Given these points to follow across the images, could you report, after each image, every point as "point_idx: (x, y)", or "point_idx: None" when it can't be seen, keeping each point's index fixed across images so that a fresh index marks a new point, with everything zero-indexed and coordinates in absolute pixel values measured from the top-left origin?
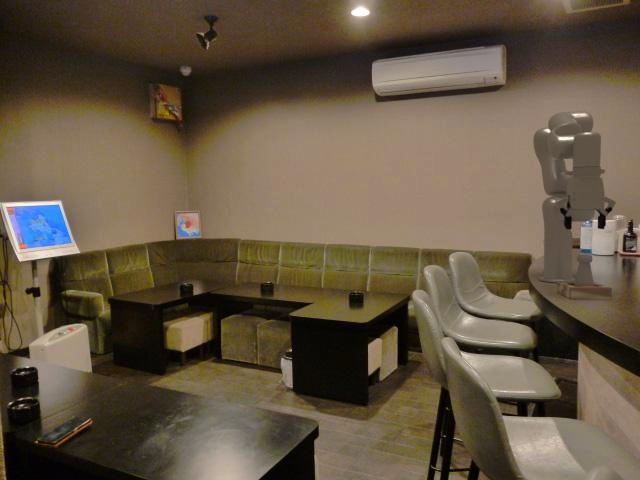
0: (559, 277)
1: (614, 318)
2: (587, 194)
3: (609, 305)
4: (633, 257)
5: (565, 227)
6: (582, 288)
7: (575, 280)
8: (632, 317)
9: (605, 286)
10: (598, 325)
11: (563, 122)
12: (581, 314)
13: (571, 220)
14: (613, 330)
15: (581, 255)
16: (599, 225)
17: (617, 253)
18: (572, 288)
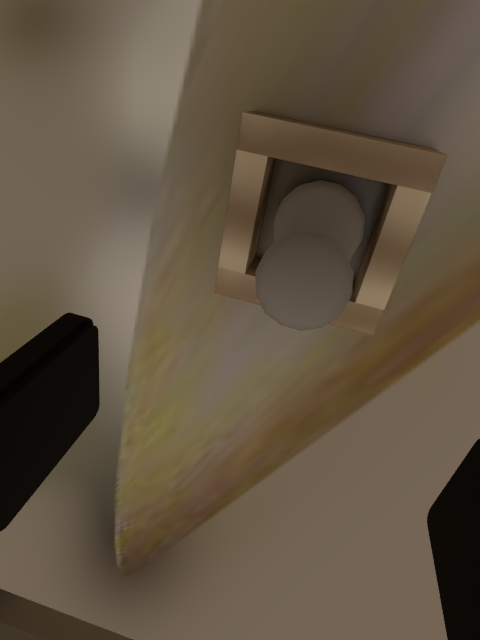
0: None
1: (195, 485)
2: None
3: (285, 385)
4: None
5: (62, 318)
6: (255, 302)
7: (277, 221)
8: (240, 492)
9: (381, 295)
10: (132, 508)
11: None
12: (145, 441)
13: (31, 489)
14: (140, 534)
15: (267, 303)
16: (465, 506)
17: None
18: (216, 291)
